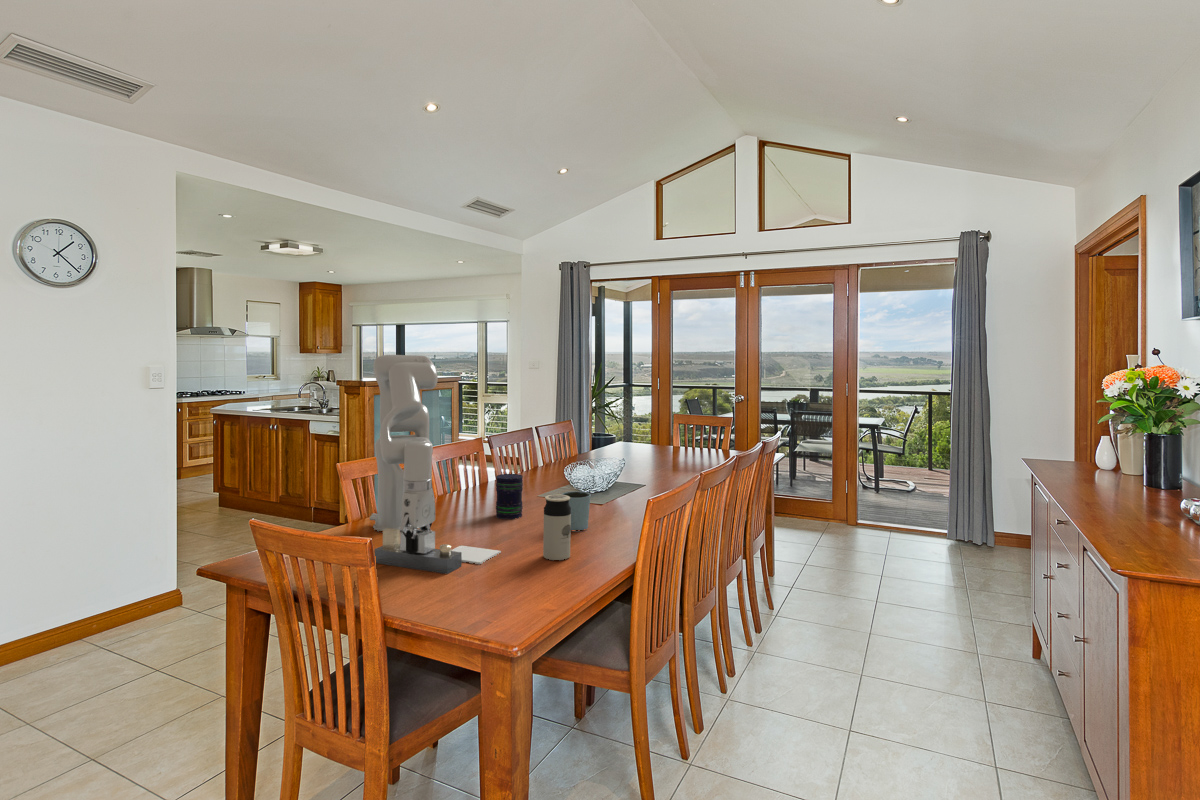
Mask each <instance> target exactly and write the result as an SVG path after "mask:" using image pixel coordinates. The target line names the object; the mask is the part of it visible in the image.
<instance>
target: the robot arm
mask: <svg viewBox="0 0 1200 800" xmlns="http://www.w3.org/2000/svg"><path fill="white" fill-rule="evenodd" d="M373 373H374V377H375V380H376V381H377V385H378V387H379V398H380V400H379V422H380V423H379V424H380V428H379V438H378V439H377V440H376V441H375V443H374V453H375V458H376V459H375V460H376V466H377V467H376V468H377V513H375V512H373V513H371V515H370V516H369V520H370V521H375V522H374V524H373V527H372V528H374V529H375V530H377V531H376V532H379V531H383V530H384V529H387V528H392V529H400V532H402V533H403V534H404V537H405V538H406V551H407V552H412V553H416V552H417V538H415V536H416V530H417V529H422V530H430V531H431V527H432V525H433V523H434V522H435V520H436V503H435V493H434V489H433V481H432V479H433V477H432V476H433V473H432V472H433V471H432V470H433V454H434V447H433V443H432V442H431V440H430V413H429V412H430V411H429V409H428V407H427V406H426V405H424V404H423V403H422V397H421V392H420V390H433V389H435V388H436V386H437V384H438V380H439V378H438V377H439V376H438V371H437V368H436V366H435V364H434V363H433V362H432V360H430V358H429V357H428V356H426V355H416V354H415V355H411V354H408V355H407V354H405V355H404V354H383V355H378V356H377V357H376V358H375V359H374V361H373ZM407 432H409V433H411V432H413V433H414V434H397V435H396V434H395V435H393V434H392V435H391V433H407ZM400 464H401V465H403V468H402V467H401V466H400ZM374 529H373V530H374ZM410 529H412V533H411V531H410ZM375 530H374V531H375Z"/></svg>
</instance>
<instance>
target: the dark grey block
mask: <svg viewBox="0 0 1200 800" xmlns="http://www.w3.org/2000/svg"><path fill="white" fill-rule="evenodd" d="M400 532H401V531H400V529H392V528H387V529H384V530H383V532H382V545H381V546H379V547H376V548H374V557H375V556H376V563H375V564H380V565H386V566H391V567H399V568H406V569H411V570H412V569H413V570H418V571H424V572H432V573H437V574H438V573H439V574H443V575H444V574H445V575H448V574H451V573H452V572H454V571H456V570H458V569H459V567H460V568H461V567H462V565H463V564H462V563H463V562H462V552H455V551H451V550H452V544H448V543H447V544H446V543H445V544H444V543H443V544H440V545H439V549H438V548H435V549H433V550H431V551H429V552H427V553H425V554H424V553H417V552H416V553H412V552H407V551H404V550H400Z"/></svg>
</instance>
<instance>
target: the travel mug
mask: <svg viewBox="0 0 1200 800" xmlns="http://www.w3.org/2000/svg"><path fill="white" fill-rule="evenodd" d="M544 499H545V506H544V507H543V540H542V541H543V542H542V545H543V547H542V549H543V553H542V557H543V558H545V559H546V560H548V559H549V561H554V560H559V561H564V559H565V560H567V559H569V558H570V557H571V532H572V531H571V507H570V505H569V500H570V497H569V496H567V495H561V494H549V495H545V496H544Z"/></svg>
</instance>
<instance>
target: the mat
mask: <svg viewBox="0 0 1200 800" xmlns="http://www.w3.org/2000/svg"><path fill="white" fill-rule="evenodd" d="M451 551H455V552H462V563H466V562H469V564H473V563H475V565H480V564H481V565H482V564H484V563H485V561H486V560H488V559H489V560H491V559H492V557H493V558H494V556H495V557H496V556H498V555H499V553H500V554H501V553H502V551H501V550H498V549H490V548H483V547H474V546H468V545H467V546H466V545H458V546H457V547H454V548H453V549H452V548H451ZM497 554H498V555H497ZM490 558H491V559H490ZM489 560H488V561H489ZM483 562H484V563H483ZM486 562H487V561H486Z"/></svg>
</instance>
